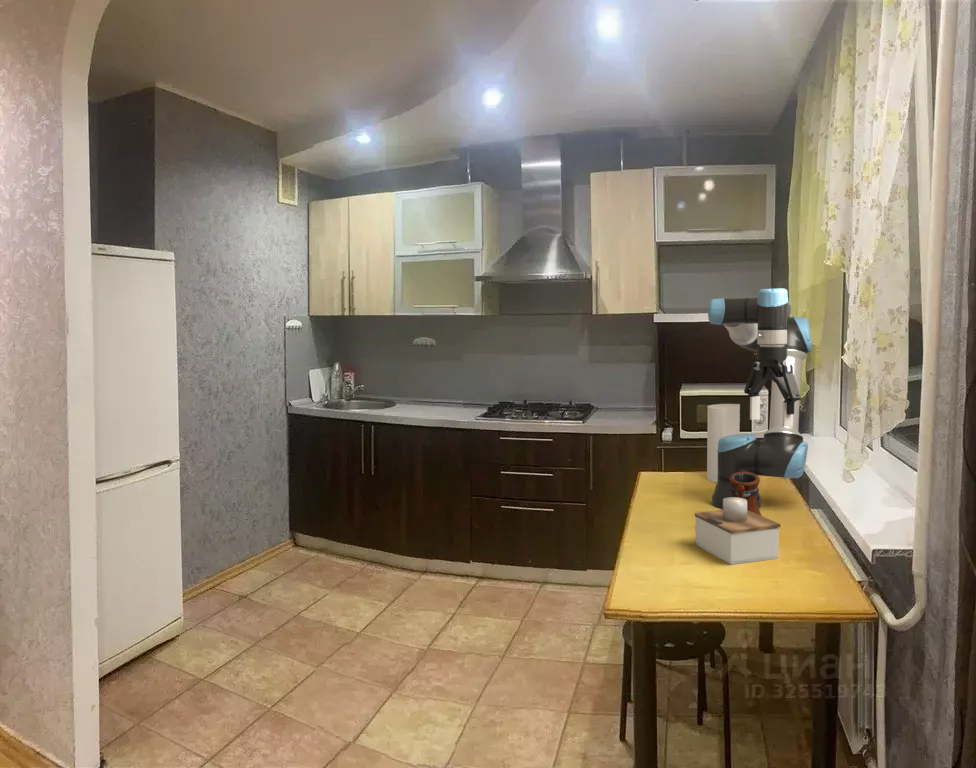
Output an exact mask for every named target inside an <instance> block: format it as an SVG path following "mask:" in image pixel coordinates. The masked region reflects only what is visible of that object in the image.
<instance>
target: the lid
mask: <svg viewBox="0 0 976 768" xmlns="http://www.w3.org/2000/svg"><path fill="white" fill-rule="evenodd" d="M694 517H695V518H696V517H697V518H700V519H702V520H704V521H706V522H708V523H710V524H712V525H714V526H716V527H718V528H720V529H722V530H724V531H726V532H728V533H730V534H736V533H743V532H750V531H757V530H764V529H770V528H777V527H778V528H781V523H780V522H776V521H774V520H771V519H769V518H767V517H765V516H763V515H762V516H760V515H758V514H755V513H753V512H751V511H748V510H747V521H745V522H730V521H726V520H724V519H723V509H718V510H709V511H703V512H697V513H696V512H695V513H694Z"/></svg>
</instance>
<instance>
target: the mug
mask: <svg viewBox="0 0 976 768" xmlns="http://www.w3.org/2000/svg"><path fill="white" fill-rule="evenodd" d="M729 480H730V483H731V486H730V490H731V492H732V495H731V497H738V498H743V499H746V500H747V510H748V511H751V512H753V513H755V514H758V515H760V516H763V515H762V513H761V511H760V508H759V507H758V504H757V495H756V494H757V493H759V491H760V489H759V484H760V482H761V478H760V476H758V475H756V474H754V473H751V472H737V473H733V474H732V475H730V477H729Z"/></svg>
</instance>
